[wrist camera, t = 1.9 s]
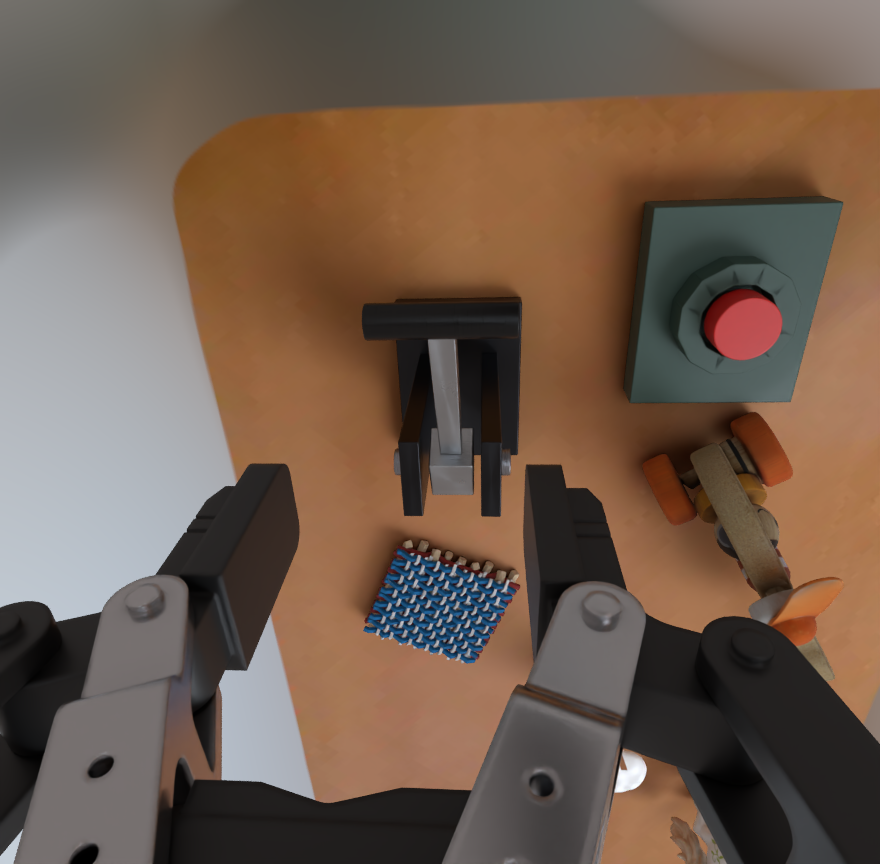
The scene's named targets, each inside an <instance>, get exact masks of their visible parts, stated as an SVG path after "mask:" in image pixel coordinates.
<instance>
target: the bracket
mask: <svg viewBox="0 0 880 864" xmlns="http://www.w3.org/2000/svg"><path fill="white" fill-rule="evenodd" d="M473 301H518V302H519V337H518V338H514V339H457V349H458V368H459V386H460V405H461V423H462V428H473V434H474V455H481V516H493V517H500V516H501V475H510V473H511V455H517V454H518V430H519V394H520V358H521V321H522V301H521V297H500V298H447V299H397V300H396V301H395V303H419V302H473ZM396 344H397V357H398V370H399V383H400V396H401V409H402V422H403V425H402V429H401V433H400V437H399V441H398V448H399V449H395V453H394V471H395V474H396V475H401V484H402V496H403V509H404V516H423V513H424V506H425V499H426V492H427V485H428V478H429V451H430V435H431V428H437V420H436V411H435V402H434V393H433V383H432V374H431V365H430V356H429V347H428V340H396Z"/></svg>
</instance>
